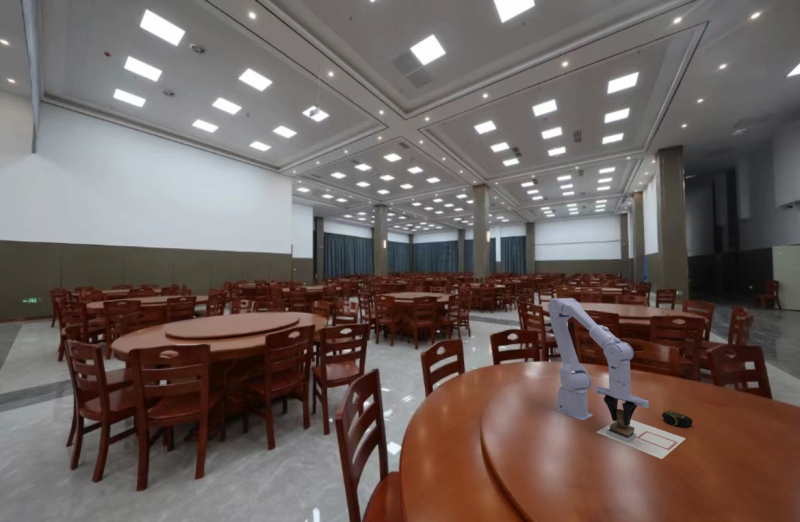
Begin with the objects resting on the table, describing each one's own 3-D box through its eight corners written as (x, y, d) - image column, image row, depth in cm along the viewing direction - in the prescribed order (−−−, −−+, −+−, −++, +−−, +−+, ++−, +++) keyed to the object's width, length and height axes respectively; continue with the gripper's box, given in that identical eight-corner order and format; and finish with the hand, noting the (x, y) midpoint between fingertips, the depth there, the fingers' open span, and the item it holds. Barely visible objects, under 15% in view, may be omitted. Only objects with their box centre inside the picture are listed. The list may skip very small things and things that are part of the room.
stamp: (609, 430, 96) (609, 409, 96) (616, 425, 99) (615, 406, 99) (628, 437, 92) (627, 415, 92) (634, 432, 95) (633, 411, 95)
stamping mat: (596, 433, 97) (595, 427, 97) (623, 417, 108) (623, 413, 108) (661, 460, 83) (661, 454, 83) (685, 439, 94) (685, 434, 94)
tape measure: (694, 428, 102) (693, 417, 102) (681, 430, 100) (680, 419, 100) (670, 419, 108) (670, 408, 109) (658, 421, 106) (657, 410, 106)
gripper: (652, 384, 92) (653, 429, 91) (600, 372, 104) (602, 411, 103) (643, 388, 88) (644, 435, 87) (591, 375, 101) (592, 415, 100)
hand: (621, 422), depth 95 cm, fingers closed on stamp, 3 cm apart
